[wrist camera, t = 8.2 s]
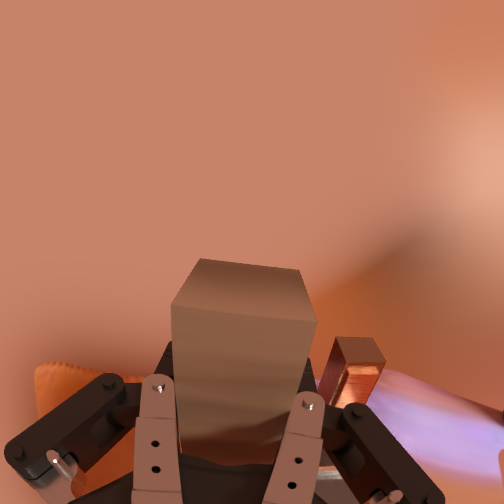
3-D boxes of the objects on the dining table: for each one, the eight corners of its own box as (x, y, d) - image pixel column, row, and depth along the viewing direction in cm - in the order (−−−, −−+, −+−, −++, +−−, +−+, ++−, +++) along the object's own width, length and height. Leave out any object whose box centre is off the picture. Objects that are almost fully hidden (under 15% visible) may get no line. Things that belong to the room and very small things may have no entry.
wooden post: (259, 492, 11) (317, 321, 7) (187, 484, 11) (171, 304, 7) (260, 436, 15) (297, 265, 12) (199, 429, 15) (202, 254, 12)
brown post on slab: (378, 533, 12) (466, 468, 8) (297, 546, 12) (362, 502, 8) (343, 406, 31) (378, 323, 28) (286, 406, 31) (310, 319, 28)
